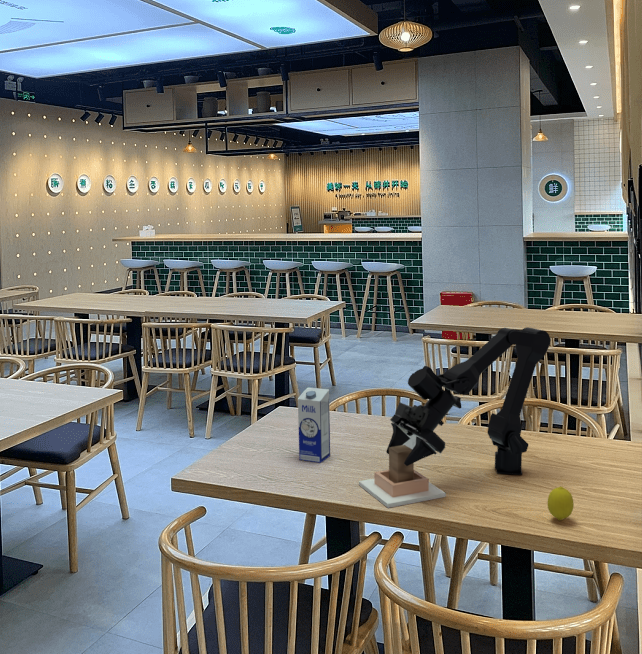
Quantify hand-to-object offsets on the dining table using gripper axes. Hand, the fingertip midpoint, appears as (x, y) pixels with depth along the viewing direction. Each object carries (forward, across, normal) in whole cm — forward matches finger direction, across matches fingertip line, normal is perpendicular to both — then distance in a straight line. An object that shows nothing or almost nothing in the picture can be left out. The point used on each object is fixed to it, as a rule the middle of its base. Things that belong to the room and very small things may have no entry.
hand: (396, 458), depth 176 cm
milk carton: (+13, -32, 0) cm, 34 cm away
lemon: (-12, +30, +24) cm, 40 cm away
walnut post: (+4, 0, +6) cm, 8 cm away
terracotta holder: (+5, 0, +7) cm, 9 cm away
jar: (-7, -26, +19) cm, 33 cm away
